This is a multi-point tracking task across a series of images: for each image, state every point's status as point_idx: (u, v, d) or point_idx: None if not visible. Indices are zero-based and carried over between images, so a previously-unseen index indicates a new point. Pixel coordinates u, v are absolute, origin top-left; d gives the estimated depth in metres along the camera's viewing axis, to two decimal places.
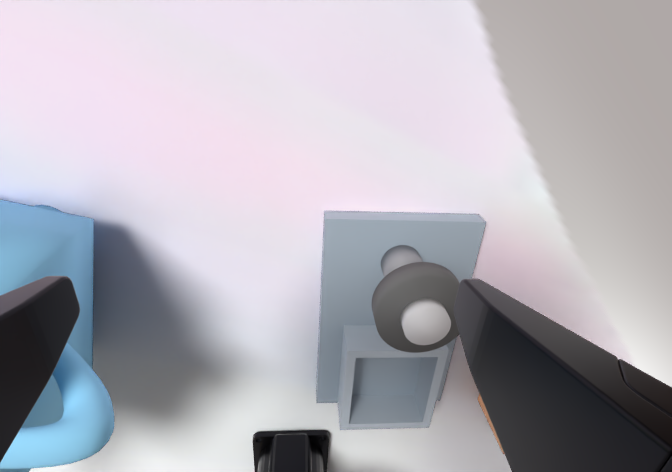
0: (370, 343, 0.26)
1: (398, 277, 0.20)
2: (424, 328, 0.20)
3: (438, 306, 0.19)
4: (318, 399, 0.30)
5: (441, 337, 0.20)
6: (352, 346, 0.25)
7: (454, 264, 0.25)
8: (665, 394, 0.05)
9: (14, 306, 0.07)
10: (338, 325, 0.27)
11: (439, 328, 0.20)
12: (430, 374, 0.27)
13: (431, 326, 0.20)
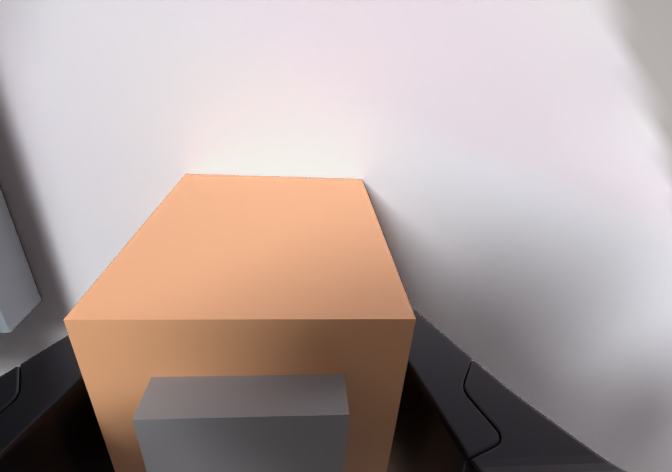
0: None
1: None
2: None
3: None
4: None
5: None
6: None
7: None
8: (497, 398, 0.05)
9: None
10: None
11: None
12: None
13: None
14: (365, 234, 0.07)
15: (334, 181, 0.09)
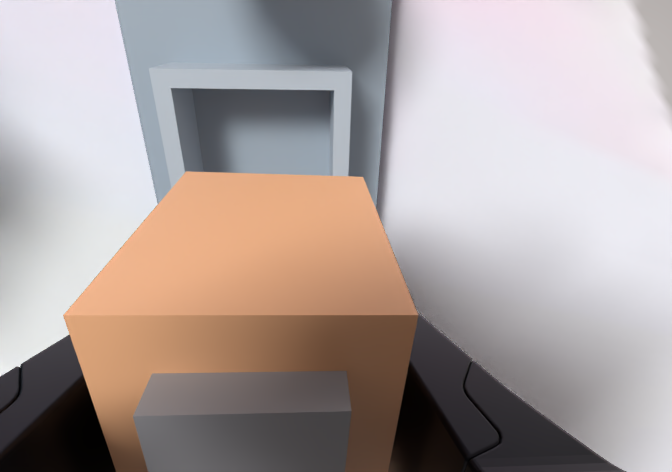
0: (202, 67, 0.13)
1: None
2: None
3: None
4: None
5: None
6: (164, 67, 0.13)
7: None
8: (497, 397, 0.05)
9: None
10: (162, 63, 0.15)
11: None
12: (332, 148, 0.15)
13: None
14: (366, 231, 0.07)
15: (335, 178, 0.09)
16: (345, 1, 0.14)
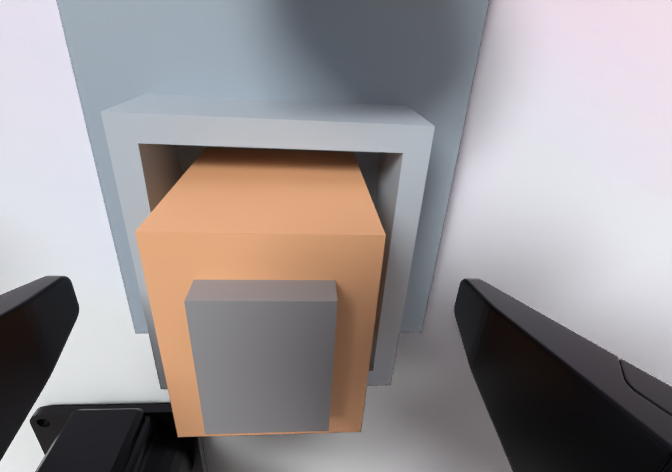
0: (192, 109, 0.08)
1: None
2: None
3: None
4: (137, 324, 0.13)
5: None
6: (129, 108, 0.08)
7: None
8: (666, 394, 0.05)
9: (13, 306, 0.07)
10: (131, 94, 0.10)
11: None
12: (387, 231, 0.10)
13: None
14: (353, 187, 0.08)
15: (330, 153, 0.11)
16: (416, 12, 0.09)
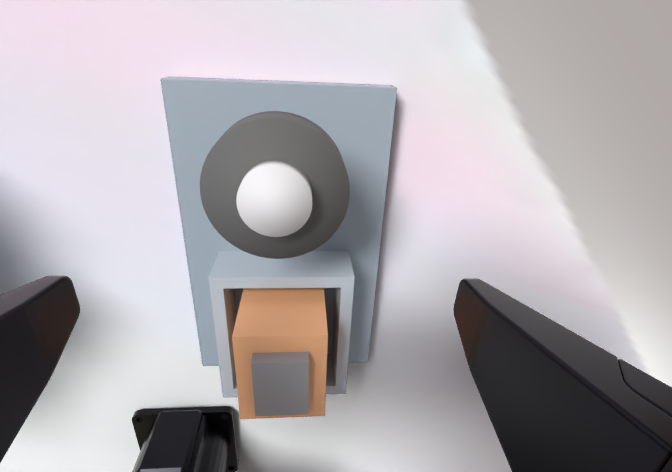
0: (245, 270, 0.18)
1: (230, 128, 0.13)
2: (270, 205, 0.12)
3: (289, 167, 0.12)
4: (204, 361, 0.23)
5: (301, 223, 0.13)
6: (218, 272, 0.18)
7: (360, 157, 0.18)
8: (665, 394, 0.05)
9: (14, 306, 0.07)
10: (211, 251, 0.20)
11: (294, 206, 0.12)
12: (338, 317, 0.20)
13: (281, 202, 0.12)
14: (318, 304, 0.18)
15: None
16: (349, 213, 0.19)
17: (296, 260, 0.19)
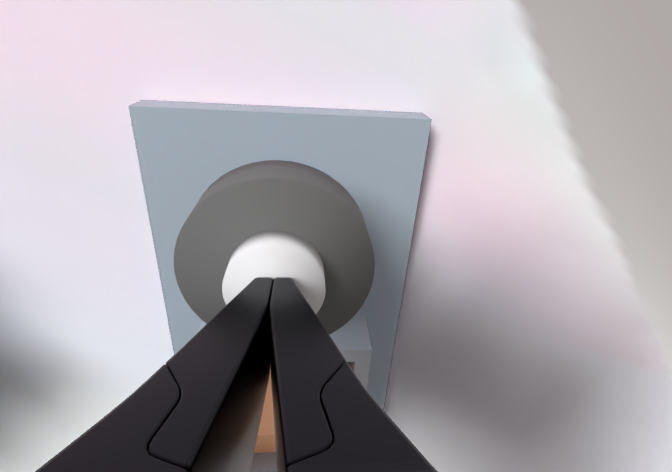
0: None
1: (216, 186, 0.09)
2: None
3: (295, 244, 0.09)
4: None
5: None
6: None
7: (381, 201, 0.15)
8: (351, 400, 0.05)
9: (262, 306, 0.07)
10: None
11: None
12: None
13: None
14: None
15: None
16: None
17: None
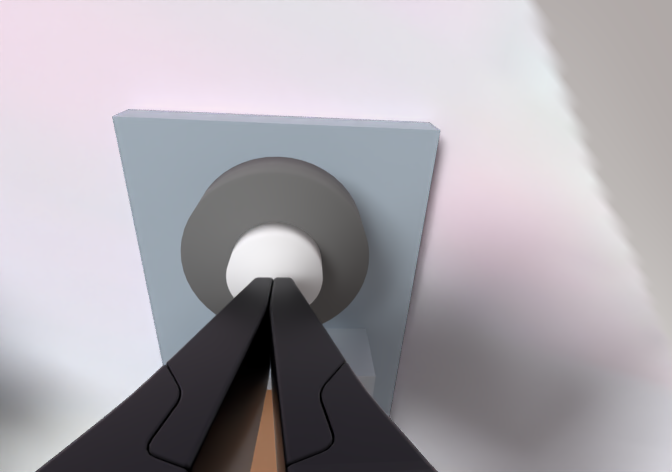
0: None
1: (220, 181, 0.10)
2: None
3: (295, 235, 0.10)
4: None
5: (308, 301, 0.10)
6: None
7: (385, 217, 0.14)
8: (351, 401, 0.05)
9: (262, 306, 0.07)
10: (189, 329, 0.15)
11: (300, 282, 0.10)
12: None
13: None
14: None
15: None
16: (368, 285, 0.15)
17: None
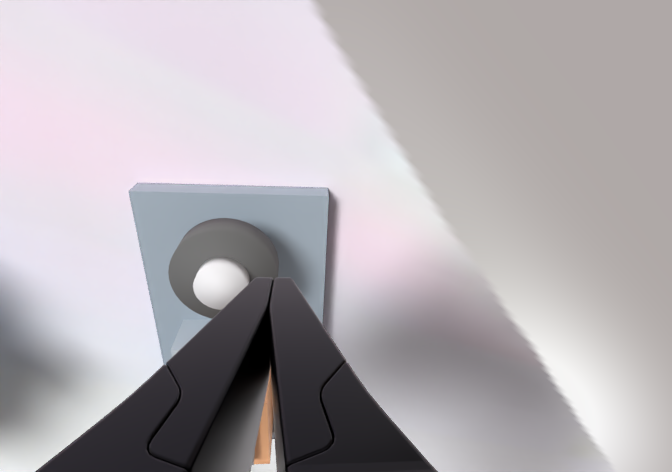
0: None
1: (190, 233, 0.18)
2: (217, 290, 0.18)
3: (230, 264, 0.17)
4: None
5: None
6: (180, 344, 0.21)
7: (301, 247, 0.22)
8: (351, 401, 0.05)
9: (262, 306, 0.07)
10: (177, 320, 0.23)
11: (235, 290, 0.18)
12: None
13: (224, 287, 0.18)
14: None
15: None
16: None
17: None
